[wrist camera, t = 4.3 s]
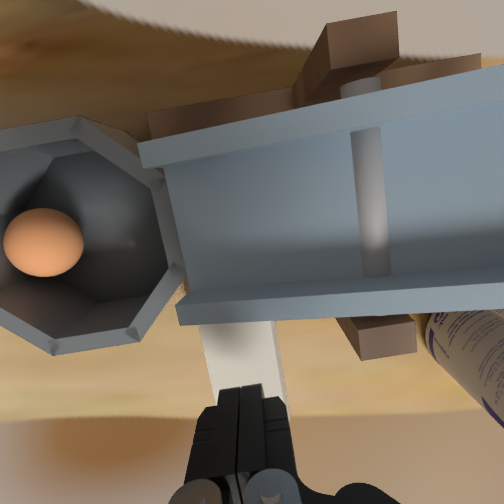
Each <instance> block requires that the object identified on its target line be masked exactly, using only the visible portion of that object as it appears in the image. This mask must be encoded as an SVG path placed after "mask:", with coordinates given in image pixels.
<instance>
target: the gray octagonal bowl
mask: <svg viewBox="0 0 504 504" xmlns="http://www.w3.org/2000/svg"><path fill="white" fill-rule="evenodd" d="M137 143H140V142H139V141H137V140H136V139H134V138H133V137H132V136H130V135H129V134H127V133H126V132H125V131H123V130H120V129H117V128H114V127H112V126H109V125H106V124H103V123H100V122H97V121H94V120H91V119H88V118H85V117H82V116H79V115H78V116H74V117H69V118H63V119H57V120H52V121H46V122H41V123H35V124H29V125H24V126H18V127H13V128H7V129H2V130H0V326H2V327H4V328H5V329H7V330H9V331H11V332H12V333H14V334H16V335H18V336H19V337H21V338H23V339H25V340H26V341H28V342H30V343H32V344H33V345H35V346H37V347H38V348H40V349H42V350H44V351H45V352H47V353H49V354H51V355H52V356H56V355H62V354H68V353H74V352H80V351H87V350H93V349H99V348H105V347H111V346H118V345H124V344H130V343H136V342H141V340H142V338H143V337H144V335H145V334H146V332H147V331H148V329H149V328H150V326H151V325H152V324H153V322H154V321H155V319H156V318H157V316H158V315H159V314H160V312H161V311H162V309H163V308H164V306H165V305H166V303H167V302H168V301H169V299H170V298H171V296H172V295H173V293H174V292H175V291H176V289H177V288H178V286H179V285H180V283H181V282H182V281H183V279H184V278H185V276H186V275H187V272H186V268H185V263H184V259H183V254H182V250H181V245H180V241H179V236H178V232H177V227H176V222H175V218H174V213H173V209H172V204H171V200H170V195H169V191H168V186H167V182H166V177H165V173H164V168H147V169H143V167H142V163H141V159H140V154H139V150H138V146H137ZM37 208H49V209H54V210H58V211H61V212H63V213H65V214H67V215H68V216H70V217H71V218H72V219H73V220H74V221H75V222H76V223H77V224H78V226H79V227H80V229H81V231H82V234H83V238H84V248H83V252H82V255H81V257H80V259H79V260H78V262H77V263H76V264H75V265H74V266H73V267H72V268H71V269H69V270H67V271H66V272H64V273H62V274H59V275H56V276H50V277H38V276H33V275H29V274H27V273H24V272H22V271H21V270H19V269H18V268H16V267H15V266H14V265H13V264H12V263H11V262H10V260H9V259H8V257H7V256H6V253H5V251H4V246H3V238H4V233H5V231H6V229H7V227H8V225H9V224H10V222H11V221H12V220H13V219H14V218H16V217H17V216H18V215H20V214H21V213H23V212H26V211H28V210H32V209H37Z"/></svg>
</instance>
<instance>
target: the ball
mask: <svg viewBox="0 0 504 504" xmlns="http://www.w3.org/2000/svg"><path fill="white" fill-rule="evenodd" d="M3 246H4V251H5V253H6V256H7V257H8V259H9V260H10V262H11V263H12V264H13V265H14V266H15V267H16V268H18V269H19V270H21V271H22V272H24V273H27V274H29V275H33V276H38V277H50V276H56V275H59V274H62V273H64V272H66V271H67V270H69V269H71V268H72V267H73V266H74V265H75V264H76V263H77V262H78V260H79V259H80V257H81V255H82V252H83V248H84V238H83V234H82V231H81V229H80V227H79V226H78V224H77V223H76V222H75V221H74V220H73V219H72V218H71V217H70V216H68V215H67V214H65V213H63V212H61V211H58V210H54V209H49V208H37V209H32V210H28V211H26V212H23V213H21V214H20V215H18V216H17V217H16V218H14V219H13V220H12V221H11V222H10V224H9V225H8V227H7V229H6V231H5V233H4V238H3Z"/></svg>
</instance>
